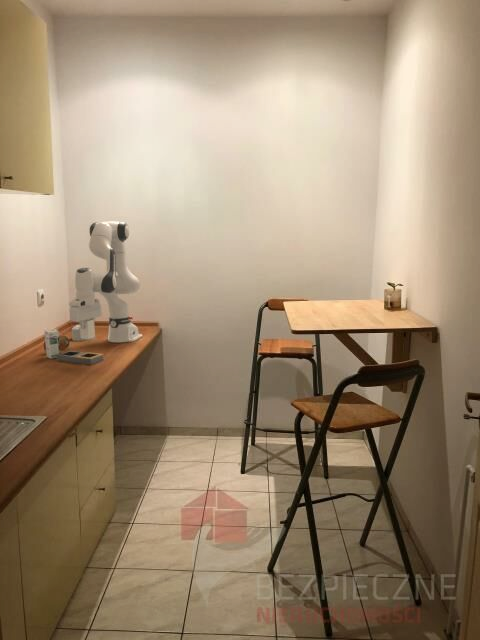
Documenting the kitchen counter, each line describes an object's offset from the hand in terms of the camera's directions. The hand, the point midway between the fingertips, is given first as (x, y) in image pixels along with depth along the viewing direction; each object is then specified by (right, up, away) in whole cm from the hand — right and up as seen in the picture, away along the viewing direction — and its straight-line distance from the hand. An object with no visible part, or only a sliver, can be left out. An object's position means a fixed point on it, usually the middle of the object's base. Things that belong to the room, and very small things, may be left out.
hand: (87, 327), depth 270 cm
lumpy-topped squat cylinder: (-18, -8, +55) cm, 59 cm away
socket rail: (-5, -17, +6) cm, 19 cm away
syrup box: (-22, -16, +13) cm, 30 cm away
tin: (-24, -14, +25) cm, 37 cm away
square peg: (0, -5, +1) cm, 5 cm away
